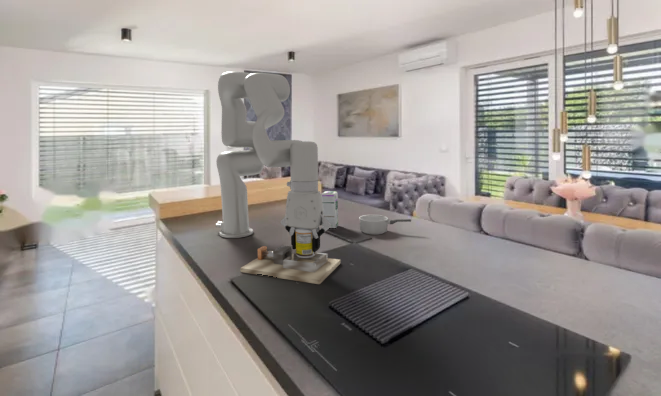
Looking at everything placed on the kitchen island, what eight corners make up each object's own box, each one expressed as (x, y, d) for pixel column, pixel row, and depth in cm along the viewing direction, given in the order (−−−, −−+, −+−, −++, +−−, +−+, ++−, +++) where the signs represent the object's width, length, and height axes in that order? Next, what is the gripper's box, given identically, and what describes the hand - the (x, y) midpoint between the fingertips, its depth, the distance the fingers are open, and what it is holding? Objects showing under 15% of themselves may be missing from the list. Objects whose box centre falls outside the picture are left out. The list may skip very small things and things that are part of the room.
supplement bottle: (305, 251, 109) (304, 217, 107) (319, 255, 105) (319, 220, 103) (291, 256, 105) (290, 221, 103) (305, 260, 101) (305, 224, 99)
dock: (240, 271, 103) (239, 254, 102) (269, 254, 118) (269, 239, 117) (319, 284, 95) (319, 265, 94) (340, 263, 109) (340, 247, 108)
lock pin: (257, 259, 109) (257, 249, 109) (263, 256, 112) (263, 245, 112) (281, 262, 106) (281, 252, 106) (286, 259, 109) (286, 248, 109)
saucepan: (410, 238, 135) (411, 223, 134) (356, 235, 139) (357, 220, 138) (410, 229, 146) (411, 216, 145) (360, 227, 150) (360, 214, 149)
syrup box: (335, 229, 147) (335, 193, 144) (321, 228, 148) (321, 193, 146) (338, 225, 153) (338, 191, 150) (324, 224, 154) (324, 190, 151)
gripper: (270, 187, 101) (272, 250, 104) (328, 190, 95) (329, 257, 98) (283, 183, 108) (285, 242, 111) (338, 186, 102) (338, 248, 105)
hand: (305, 248), depth 105 cm, fingers closed on supplement bottle, 5 cm apart
